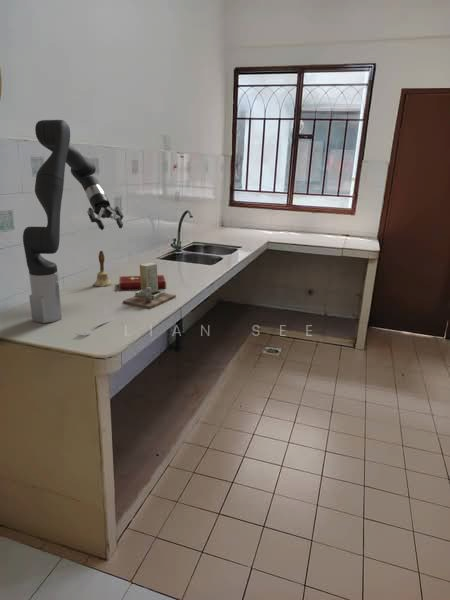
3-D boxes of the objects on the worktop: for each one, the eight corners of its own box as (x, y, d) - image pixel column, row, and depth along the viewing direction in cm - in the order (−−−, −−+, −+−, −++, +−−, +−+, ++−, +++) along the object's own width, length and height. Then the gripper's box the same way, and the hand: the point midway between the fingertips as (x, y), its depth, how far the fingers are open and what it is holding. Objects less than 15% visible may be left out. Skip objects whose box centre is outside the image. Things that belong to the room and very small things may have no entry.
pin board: (150, 308, 167) (150, 291, 165) (122, 303, 173) (122, 286, 171) (175, 297, 183) (175, 281, 181) (149, 292, 189) (148, 277, 187)
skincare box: (151, 289, 184) (151, 262, 181) (158, 291, 182) (157, 263, 178) (140, 292, 180) (139, 264, 176) (146, 294, 177) (145, 265, 173)
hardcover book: (166, 289, 196) (165, 280, 194) (119, 291, 191) (118, 282, 190) (164, 282, 207) (164, 274, 206) (120, 284, 202) (119, 275, 201)
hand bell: (100, 281, 205) (98, 248, 200) (115, 283, 202) (113, 250, 198) (90, 285, 198) (87, 251, 193) (104, 287, 195) (102, 253, 190)
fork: (122, 316, 159) (121, 312, 158) (83, 340, 137) (82, 335, 136) (114, 315, 160) (114, 311, 159) (74, 338, 138) (74, 333, 137)
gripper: (84, 192, 175) (99, 223, 171) (115, 191, 184) (130, 221, 180) (79, 204, 180) (94, 235, 176) (109, 203, 190) (124, 232, 185)
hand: (112, 228), depth 178 cm, fingers open, 8 cm apart
